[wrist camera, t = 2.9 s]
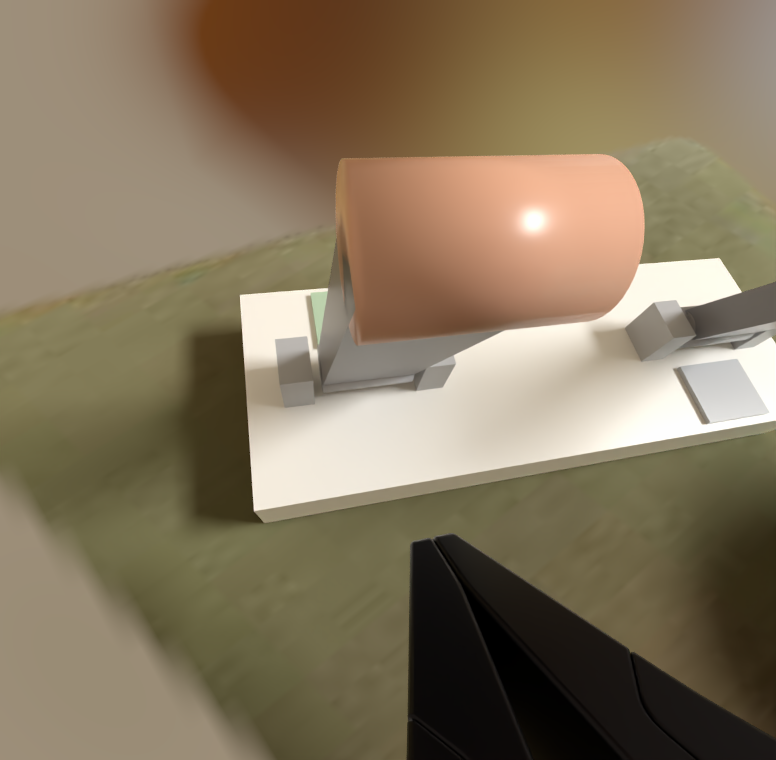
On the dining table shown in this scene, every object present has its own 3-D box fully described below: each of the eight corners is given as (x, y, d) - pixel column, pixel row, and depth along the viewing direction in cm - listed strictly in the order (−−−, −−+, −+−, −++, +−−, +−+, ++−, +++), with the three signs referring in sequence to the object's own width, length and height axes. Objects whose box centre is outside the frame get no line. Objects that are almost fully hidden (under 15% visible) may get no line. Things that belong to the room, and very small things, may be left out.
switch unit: (764, 432, 20) (871, 394, 16) (264, 522, 15) (243, 500, 11) (680, 290, 23) (752, 230, 19) (250, 330, 18) (230, 262, 15)
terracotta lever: (406, 389, 15) (661, 296, 4) (323, 400, 15) (373, 322, 4) (399, 335, 16) (624, 112, 5) (315, 343, 15) (344, 111, 4)
